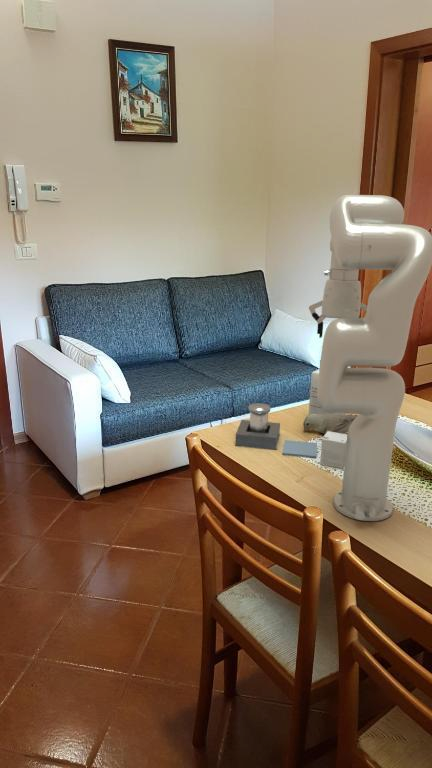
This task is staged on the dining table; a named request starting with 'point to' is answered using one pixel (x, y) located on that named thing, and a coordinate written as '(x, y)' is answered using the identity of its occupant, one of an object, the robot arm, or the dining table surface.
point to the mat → (300, 449)
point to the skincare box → (333, 449)
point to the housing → (257, 436)
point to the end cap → (259, 417)
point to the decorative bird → (329, 422)
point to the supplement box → (313, 403)
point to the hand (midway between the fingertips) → (338, 337)
